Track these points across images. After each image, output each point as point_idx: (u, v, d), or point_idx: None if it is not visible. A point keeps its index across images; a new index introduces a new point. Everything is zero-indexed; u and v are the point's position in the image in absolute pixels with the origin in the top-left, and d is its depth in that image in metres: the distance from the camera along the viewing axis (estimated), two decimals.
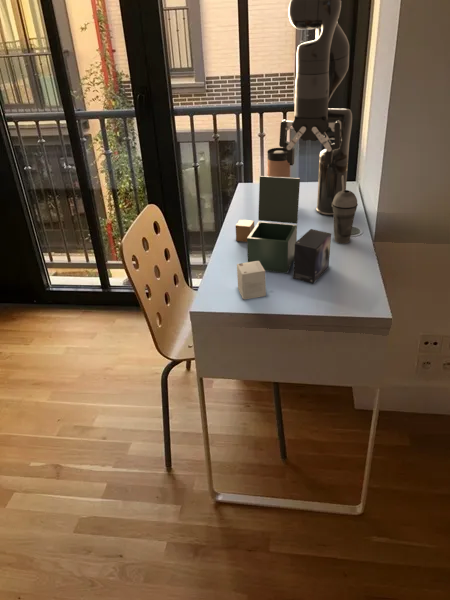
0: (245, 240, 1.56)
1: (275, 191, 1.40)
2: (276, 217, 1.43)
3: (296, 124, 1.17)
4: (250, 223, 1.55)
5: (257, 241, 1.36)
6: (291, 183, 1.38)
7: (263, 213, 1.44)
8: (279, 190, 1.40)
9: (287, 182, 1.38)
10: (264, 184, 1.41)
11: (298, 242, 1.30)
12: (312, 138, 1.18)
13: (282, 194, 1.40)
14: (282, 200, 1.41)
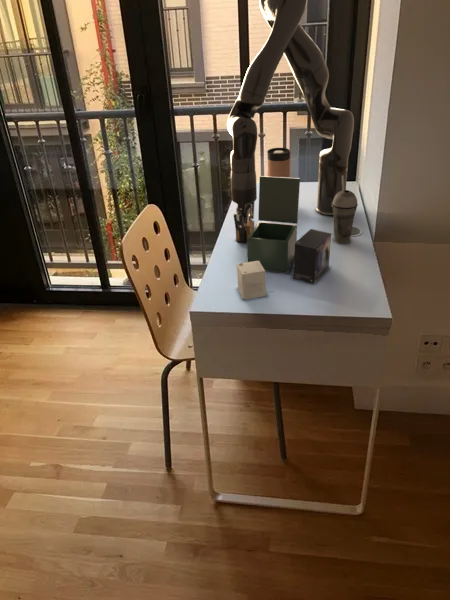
0: None
1: (275, 191, 1.40)
2: (276, 217, 1.43)
3: None
4: (250, 223, 1.55)
5: (257, 241, 1.36)
6: (291, 183, 1.38)
7: (263, 213, 1.44)
8: (279, 190, 1.40)
9: (287, 182, 1.38)
10: (264, 184, 1.41)
11: (298, 242, 1.30)
12: None
13: (282, 194, 1.40)
14: (282, 200, 1.41)
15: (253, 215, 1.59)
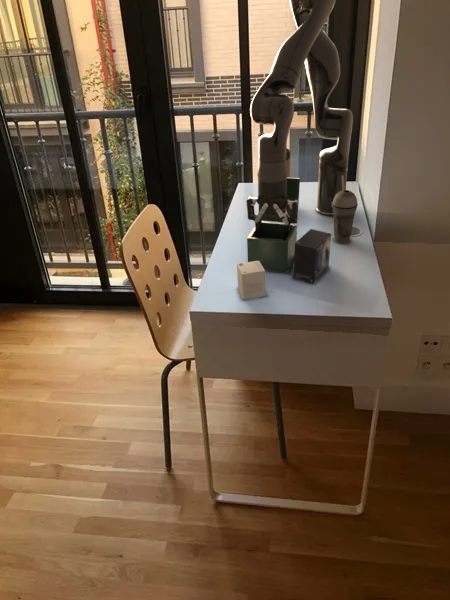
0: None
1: None
2: (276, 217, 1.43)
3: (260, 200, 1.34)
4: (274, 239, 1.42)
5: (257, 241, 1.36)
6: (291, 183, 1.38)
7: None
8: None
9: (287, 182, 1.38)
10: None
11: (298, 242, 1.30)
12: (274, 212, 1.35)
13: None
14: None
15: None
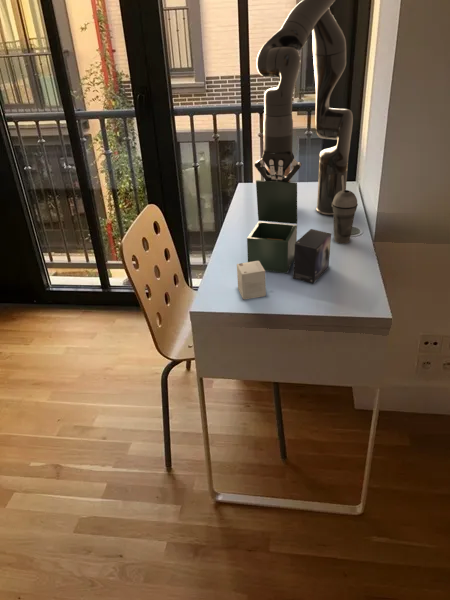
0: None
1: (273, 195, 1.38)
2: (276, 218, 1.43)
3: (265, 157, 1.34)
4: (274, 239, 1.42)
5: (257, 241, 1.36)
6: (288, 187, 1.35)
7: (262, 214, 1.43)
8: (277, 193, 1.38)
9: (284, 186, 1.36)
10: (261, 188, 1.38)
11: (298, 242, 1.29)
12: None
13: (280, 198, 1.38)
14: (280, 203, 1.39)
15: None
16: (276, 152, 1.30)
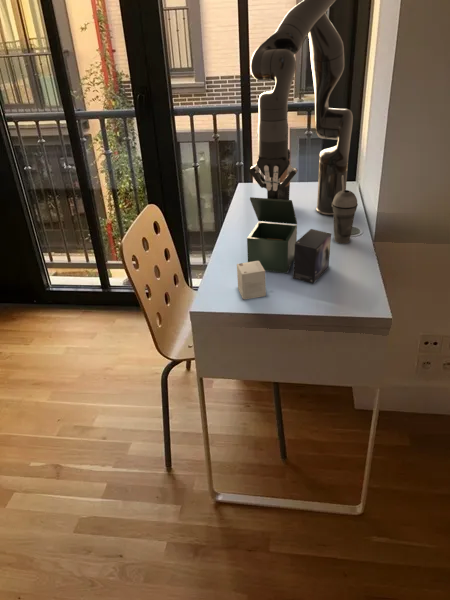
0: None
1: (269, 207, 1.36)
2: (275, 220, 1.42)
3: (260, 163, 1.30)
4: (274, 239, 1.42)
5: (257, 241, 1.36)
6: (283, 204, 1.32)
7: (261, 218, 1.43)
8: (273, 207, 1.35)
9: (279, 203, 1.33)
10: (256, 203, 1.35)
11: (298, 242, 1.30)
12: None
13: (277, 209, 1.36)
14: (278, 212, 1.37)
15: None
16: (271, 158, 1.26)
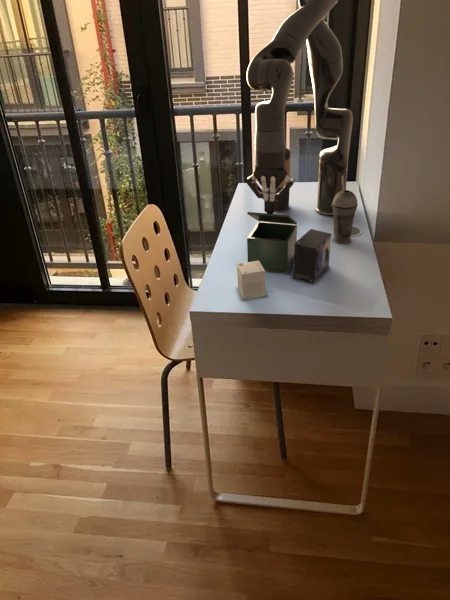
0: None
1: (267, 217, 1.36)
2: (275, 222, 1.42)
3: (257, 173, 1.28)
4: (274, 239, 1.42)
5: (257, 241, 1.36)
6: (281, 217, 1.32)
7: (261, 220, 1.43)
8: (271, 217, 1.35)
9: (277, 217, 1.32)
10: (254, 215, 1.35)
11: (298, 242, 1.30)
12: None
13: (275, 218, 1.36)
14: (277, 219, 1.37)
15: (259, 192, 1.33)
16: (268, 168, 1.24)
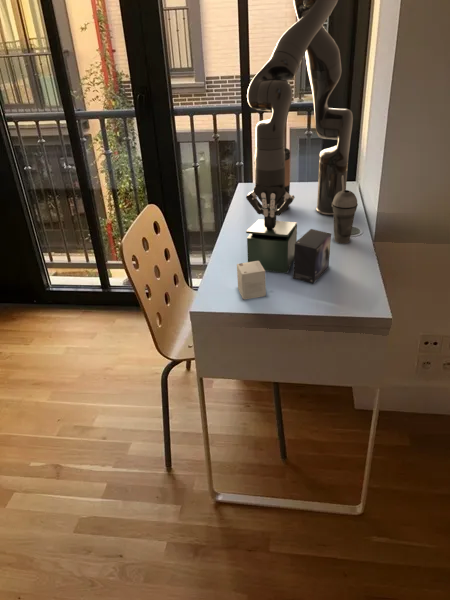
0: None
1: None
2: None
3: (257, 190, 1.30)
4: (274, 239, 1.42)
5: (257, 241, 1.36)
6: None
7: None
8: None
9: None
10: None
11: (298, 242, 1.29)
12: None
13: None
14: None
15: (259, 208, 1.35)
16: (268, 186, 1.26)
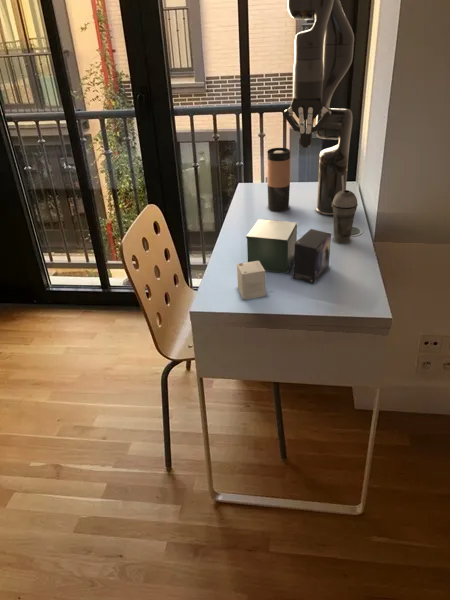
0: None
1: None
2: None
3: (294, 105, 1.32)
4: None
5: (257, 241, 1.36)
6: None
7: None
8: None
9: None
10: None
11: (298, 242, 1.29)
12: None
13: None
14: None
15: None
16: (306, 98, 1.27)
